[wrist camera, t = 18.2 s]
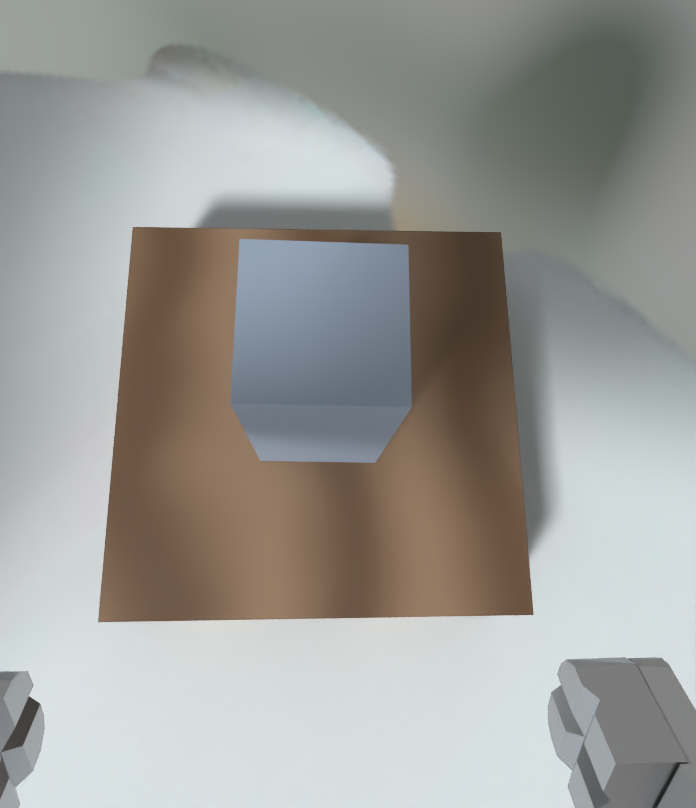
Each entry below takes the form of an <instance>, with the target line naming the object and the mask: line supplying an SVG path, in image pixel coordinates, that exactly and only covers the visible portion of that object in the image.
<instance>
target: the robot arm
mask: <svg viewBox="0 0 696 808" xmlns="http://www.w3.org/2000/svg"><path fill="white" fill-rule="evenodd" d="M557 675H558V677H559V680H560V683H561V686H559V687H558V688H557V689H555V690H554V691H553V692H551V696H550V700H549V704H548V725H549V729H550V734H551V739H552V742H553V745H554V748H555V751H556V754H557V756H558V757H559V758H560V759H561V760H562V761H563V762H564V763H565V764H566V765H567V766H568V767H569V768H570V769H571V770H572V773H571V777H570V780H569V783H568V789H569V792H570V795H571V798H572V800H573V803H574V806H575V808H696V710H695V708H694V706H693V705H692V703H691V701H690V700H689V698H688V696H687V695H686V693H685V691H684V690H683V688H682V686H681V684H680V683H679V681H678V679H677V678H676V676H675V674H674V673H673V671H672V669H671V667H670V666H669V664H668V663H667V662H665V661H664V660H663V659H662V658H656V657H652V658H629V659H627V658H625V657H622V658H595V659H568V660H565V661H564V662H562V663H561V665H560V668H559V671H558V674H557ZM33 686H34V685H33V682H32V680H31V678H30V675H29V673H28V671H0V808H19V805H20V802H19V798H18V795H17V791H16V787H17V786H18V785H19V784H20V783H21V782H22V781H23V780H24V779H25V778H26V777H27V776H28V775H29V774H30V773H31V772H32V771H33V770H34V767H35V764H36V761H37V759H38V756H39V753H40V751H41V746H42V740H43V735H44V729H45V727H44V713H43V710H42V707H41V704H40V703H38V702H37V701H35V700H34V699H32V698H31V697H29V695H30V692H31V690H32V688H33Z"/></svg>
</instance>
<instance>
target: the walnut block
mask: <svg viewBox="0 0 696 808" xmlns="http://www.w3.org/2000/svg"><path fill="white" fill-rule="evenodd" d="M240 239H258V240H287V241H315V242H344V243H372V244H401V245H408V249H409V297H410V345H411V393H412V408H411V409H410V411H409V412H408V414H407V415H406V417H405V418H404V420H403V421H402V423H401V424H400V426H399V427H398V429H397V430H396V432H395V433H394V435H393V437H392V438H391V440H390V441H389V443H388V444H387V446H386V447H385V449H384V450H383V452H382V453H381V455H380V456H379V458H378V459H377V461H376V462H375V463H357V462H290V461H260V460H259V458H258V456H257V454H256V452H255V450H254V448H253V446H252V444H251V442H250V440H249V439H248V437H247V435H246V433H245V431H244V429H243V427H242V425H241V423H240V421H239V419H238V417H237V415H236V414H235V412H234V410H233V408H232V406H231V404H230V400H231V382H232V364H233V346H234V328H235V311H236V293H237V275H238V257H239V240H240ZM491 615H533V604H532V592H531V580H530V569H529V557H528V545H527V533H526V522H525V510H524V498H523V486H522V475H521V463H520V451H519V439H518V427H517V416H516V404H515V392H514V380H513V369H512V357H511V345H510V333H509V322H508V310H507V298H506V286H505V275H504V263H503V251H502V240H501V233H499V232H431V231H430V232H429V231H364V230H296V229H227V228H159V227H133V232H132V243H131V255H130V266H129V277H128V289H127V300H126V311H125V323H124V334H123V346H122V357H121V368H120V380H119V391H118V402H117V414H116V425H115V437H114V448H113V459H112V471H111V482H110V494H109V505H108V516H107V528H106V539H105V550H104V562H103V573H102V585H101V596H100V607H99V619H98V622H131V621H191V620H251V619H311V618H371V617H431V616H491Z"/></svg>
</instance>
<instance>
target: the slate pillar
mask: <svg viewBox="0 0 696 808" xmlns="http://www.w3.org/2000/svg"><path fill="white" fill-rule="evenodd" d="M230 404H231V406H232V408H233V410H234V412H235V414H236V415H237V417H238V419H239V421H240V423H241V425H242V427H243V429H244V431H245V433H246V435H247V437H248V439H249V440H250V442H251V444H252V446H253V448H254V450H255V452H256V454H257V456H258V458H259V460H260V461H290V462H357V463H375V462H376V461H377V459H378V458H379V456H380V455H381V453H382V452H383V450H384V449H385V447H386V446H387V444H388V443H389V441H390V440H391V438H392V437H393V435H394V433H395V432H396V430H397V429H398V427H399V426H400V424H401V423H402V421H403V420H404V418H405V417H406V415H407V414H408V412H409V411H410V409H411V408H412V393H411V345H410V297H409V249H408V245H401V244H372V243H344V242H315V241H287V240H258V239H240V240H239V257H238V275H237V293H236V311H235V328H234V346H233V364H232V382H231V400H230Z"/></svg>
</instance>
